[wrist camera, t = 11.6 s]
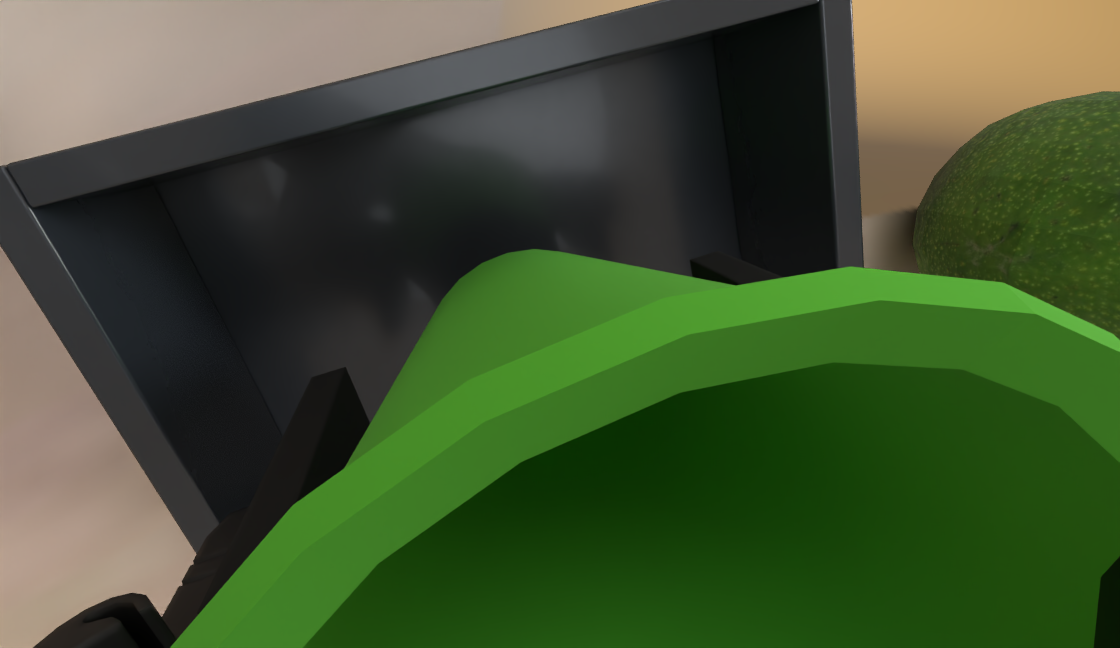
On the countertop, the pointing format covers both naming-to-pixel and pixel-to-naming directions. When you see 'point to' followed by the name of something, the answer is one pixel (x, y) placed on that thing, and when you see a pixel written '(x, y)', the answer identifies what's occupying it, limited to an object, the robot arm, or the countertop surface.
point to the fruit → (1034, 208)
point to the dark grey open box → (422, 212)
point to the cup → (709, 472)
